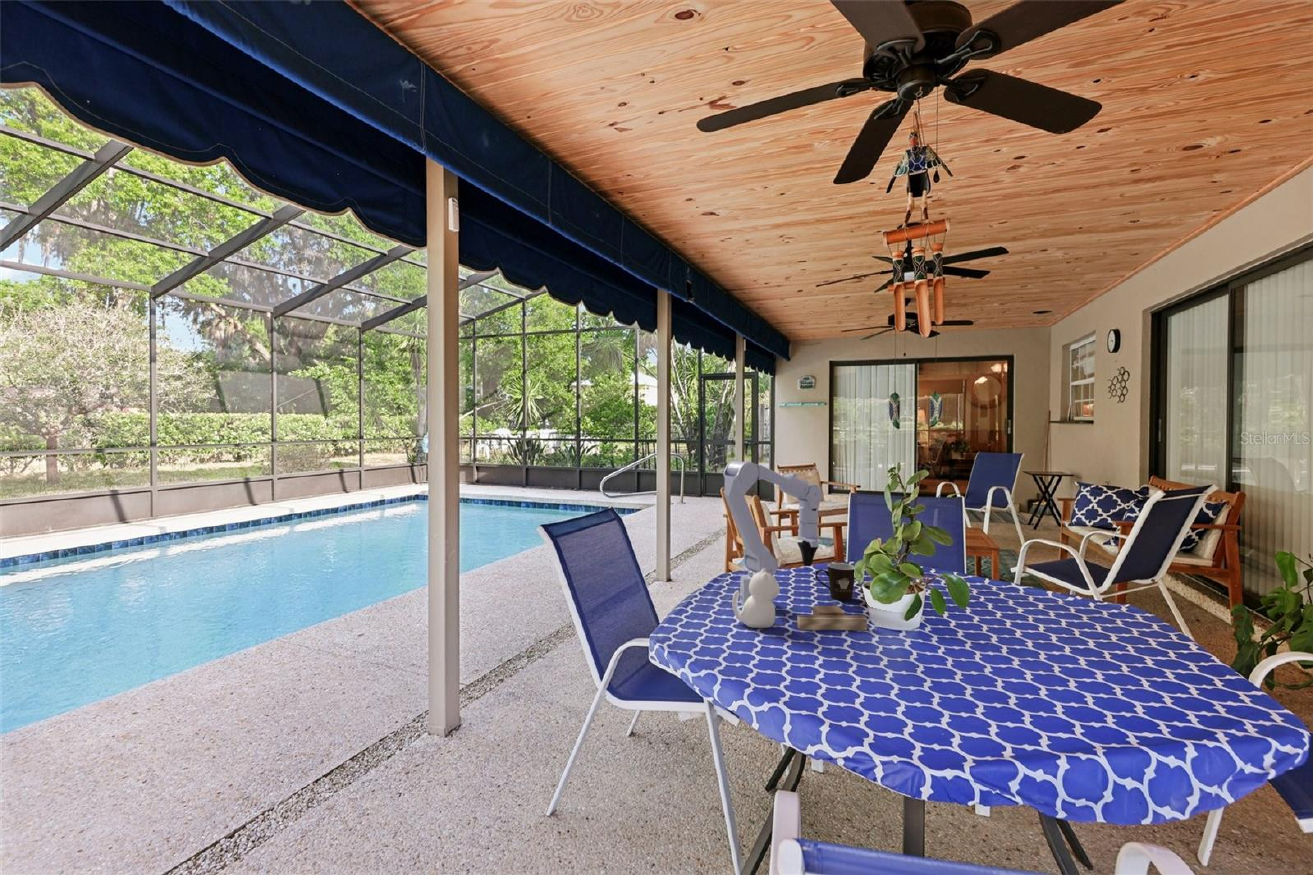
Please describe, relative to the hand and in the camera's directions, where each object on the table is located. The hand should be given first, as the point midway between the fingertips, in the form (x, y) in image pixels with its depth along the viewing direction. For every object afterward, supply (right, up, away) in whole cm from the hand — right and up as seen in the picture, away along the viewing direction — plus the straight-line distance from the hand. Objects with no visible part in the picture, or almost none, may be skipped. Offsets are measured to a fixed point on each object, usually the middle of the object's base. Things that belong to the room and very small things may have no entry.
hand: (807, 565), depth 182 cm
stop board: (0, -11, -26) cm, 28 cm away
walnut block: (0, -11, -22) cm, 25 cm away
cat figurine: (-20, -11, -24) cm, 34 cm away
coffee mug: (+10, -11, +3) cm, 15 cm away
